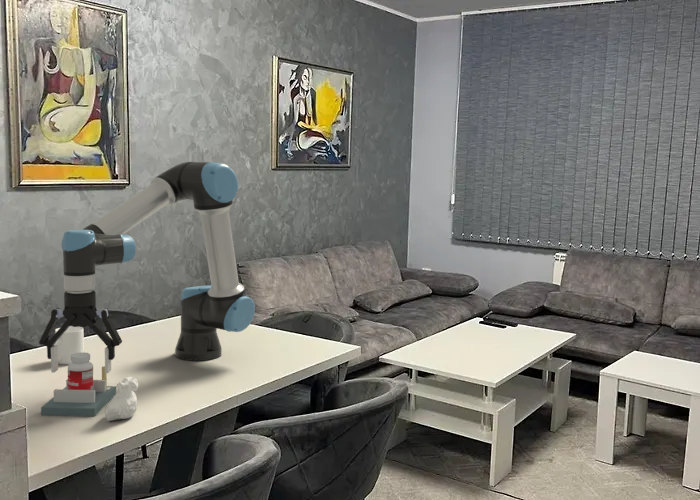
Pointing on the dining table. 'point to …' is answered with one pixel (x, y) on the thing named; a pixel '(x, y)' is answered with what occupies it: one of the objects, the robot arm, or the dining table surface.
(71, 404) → the board
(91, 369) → the pill bottle
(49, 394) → the dining table surface
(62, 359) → the mug
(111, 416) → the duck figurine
